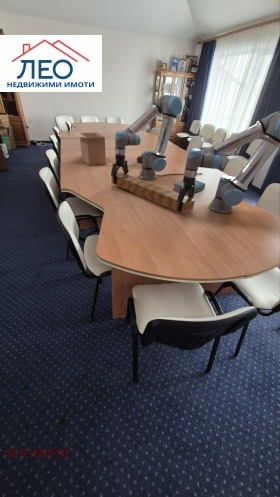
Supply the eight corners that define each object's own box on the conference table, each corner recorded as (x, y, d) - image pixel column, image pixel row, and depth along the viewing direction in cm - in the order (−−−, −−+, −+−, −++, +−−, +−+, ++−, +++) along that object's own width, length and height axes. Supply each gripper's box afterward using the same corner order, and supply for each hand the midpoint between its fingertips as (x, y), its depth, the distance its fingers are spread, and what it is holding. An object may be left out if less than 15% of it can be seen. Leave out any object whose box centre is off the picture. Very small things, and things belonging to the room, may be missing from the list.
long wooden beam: (111, 183, 181) (111, 174, 177) (120, 180, 187) (120, 171, 183) (184, 214, 144) (187, 204, 140) (192, 210, 150) (195, 199, 146)
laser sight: (156, 165, 238) (157, 155, 232) (135, 163, 241) (136, 153, 235) (157, 163, 245) (158, 153, 240) (137, 160, 248) (138, 151, 242)
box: (116, 165, 229) (116, 136, 213) (83, 168, 214) (80, 137, 198) (102, 154, 259) (101, 128, 243) (71, 156, 244) (68, 129, 228)
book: (188, 183, 198) (190, 178, 195) (204, 189, 190) (205, 183, 187) (173, 189, 185) (174, 183, 182) (188, 195, 176) (190, 189, 173)
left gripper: (112, 157, 159) (112, 187, 172) (133, 153, 173) (132, 181, 186) (105, 155, 163) (106, 184, 176) (127, 151, 177) (126, 178, 190)
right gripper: (185, 181, 127) (178, 216, 140) (204, 174, 141) (196, 206, 154) (174, 178, 131) (169, 212, 144) (194, 171, 145) (187, 202, 158)
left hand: (119, 182), depth 181 cm, fingers closed on long wooden beam, 10 cm apart
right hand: (183, 208), depth 149 cm, fingers closed on long wooden beam, 10 cm apart
